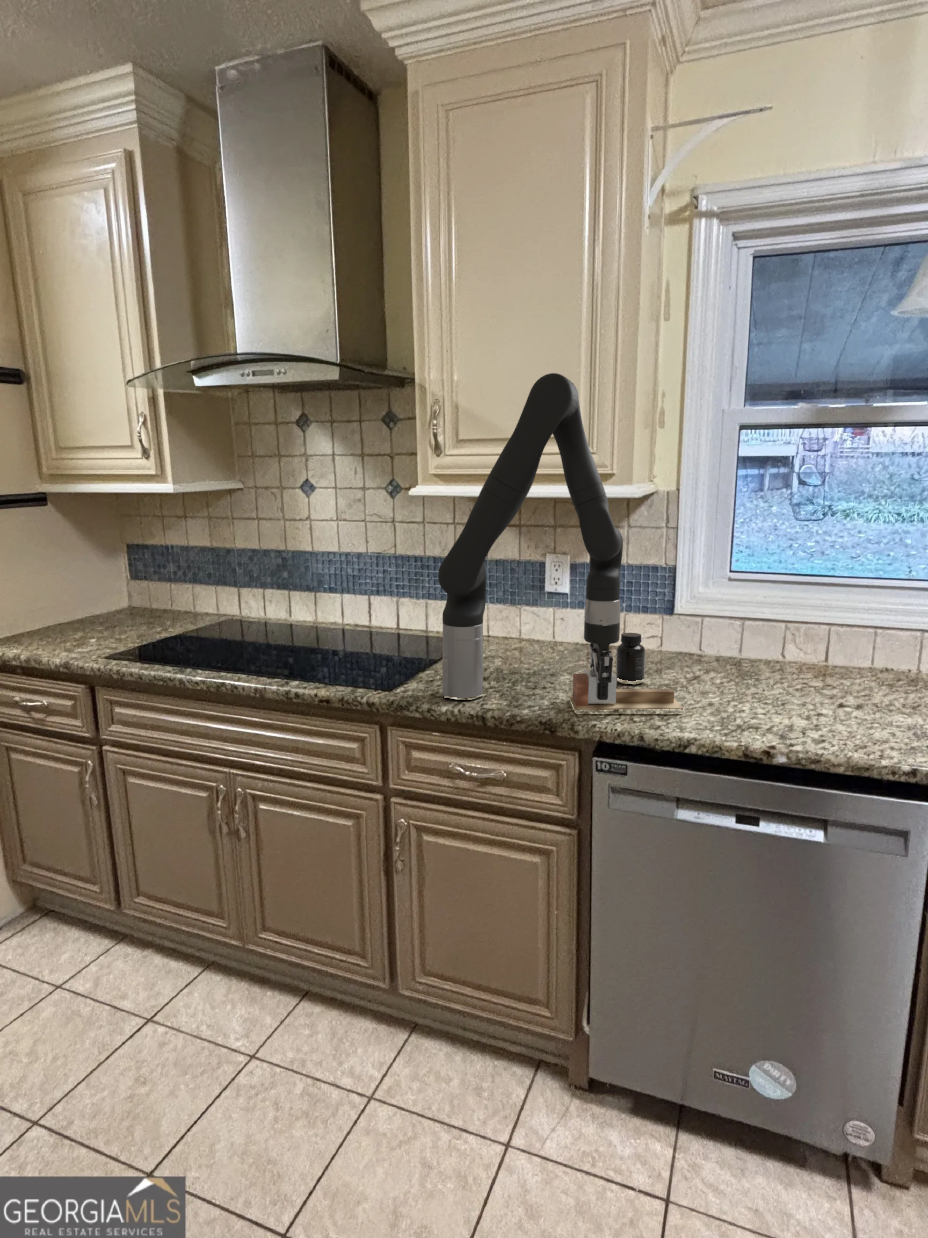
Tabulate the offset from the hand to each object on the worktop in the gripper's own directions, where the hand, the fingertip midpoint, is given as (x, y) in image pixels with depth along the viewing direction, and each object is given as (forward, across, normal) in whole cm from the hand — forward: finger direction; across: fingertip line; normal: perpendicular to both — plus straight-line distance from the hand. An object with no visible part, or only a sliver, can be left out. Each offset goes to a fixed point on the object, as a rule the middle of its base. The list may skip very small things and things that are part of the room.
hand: (599, 694), depth 159 cm
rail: (+3, 0, +6) cm, 6 cm away
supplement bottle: (+3, -20, +11) cm, 23 cm away
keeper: (+1, 0, 0) cm, 1 cm away
